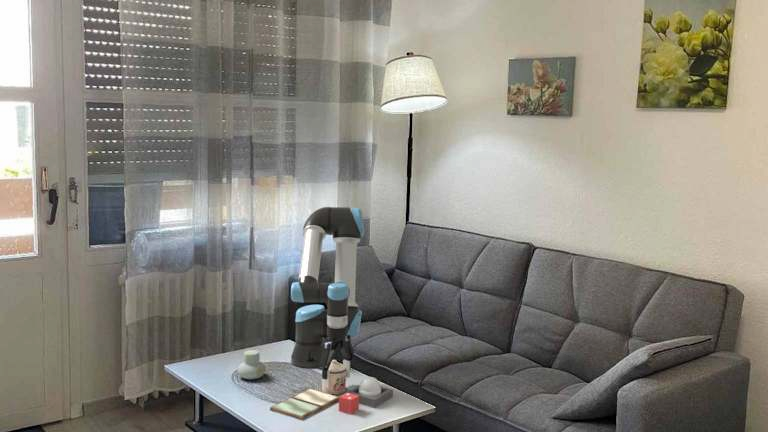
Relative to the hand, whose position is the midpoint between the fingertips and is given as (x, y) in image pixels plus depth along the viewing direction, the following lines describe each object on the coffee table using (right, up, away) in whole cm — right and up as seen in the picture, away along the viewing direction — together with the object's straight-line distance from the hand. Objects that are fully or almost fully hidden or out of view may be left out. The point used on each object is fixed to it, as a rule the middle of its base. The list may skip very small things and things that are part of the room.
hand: (336, 382), depth 275 cm
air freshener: (-34, -1, +11) cm, 35 cm away
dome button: (+13, -4, -8) cm, 15 cm away
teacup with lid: (0, -3, 0) cm, 3 cm away
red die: (+5, -6, -18) cm, 20 cm away
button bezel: (+13, -4, -8) cm, 15 cm away
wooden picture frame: (-10, -5, -15) cm, 18 cm away
